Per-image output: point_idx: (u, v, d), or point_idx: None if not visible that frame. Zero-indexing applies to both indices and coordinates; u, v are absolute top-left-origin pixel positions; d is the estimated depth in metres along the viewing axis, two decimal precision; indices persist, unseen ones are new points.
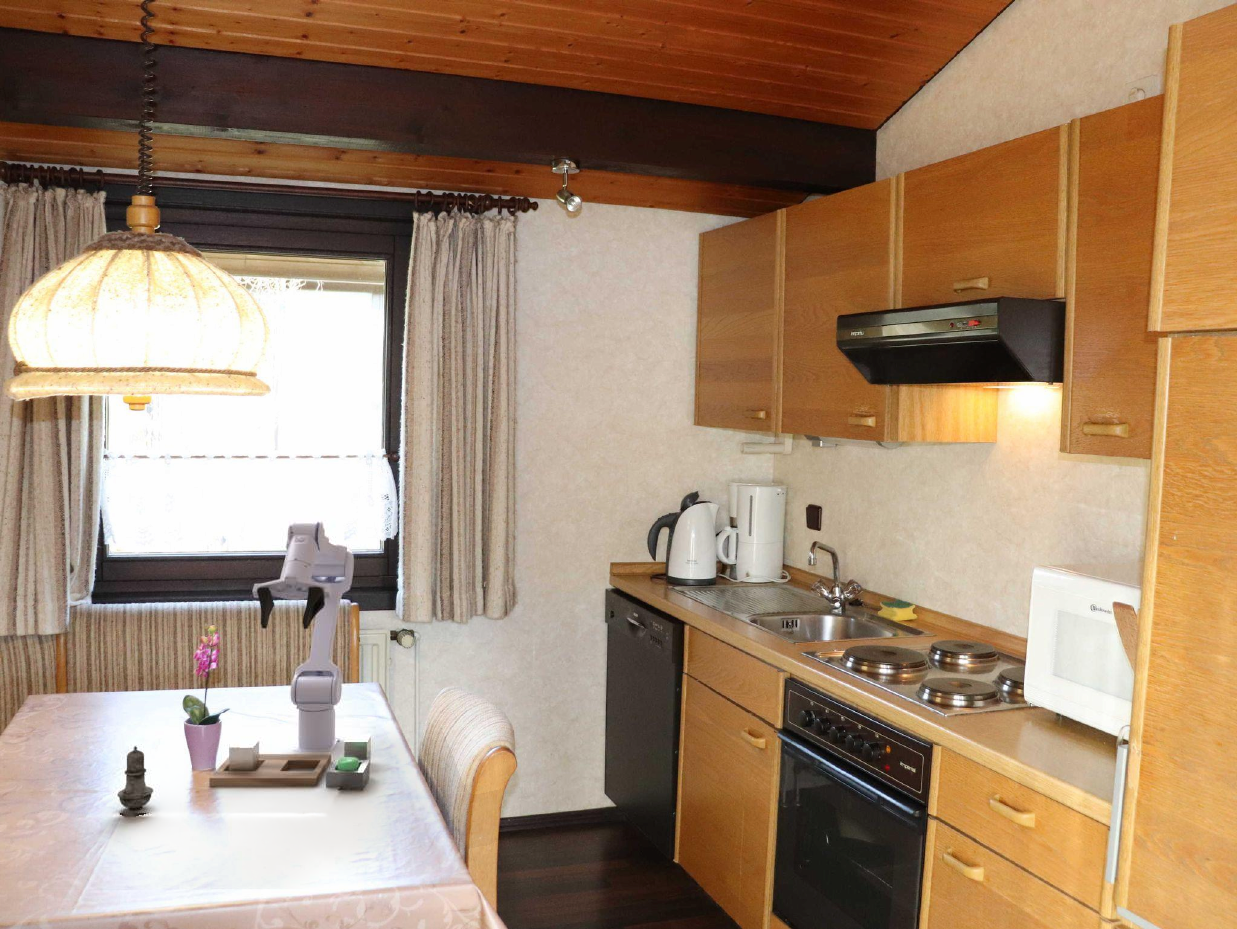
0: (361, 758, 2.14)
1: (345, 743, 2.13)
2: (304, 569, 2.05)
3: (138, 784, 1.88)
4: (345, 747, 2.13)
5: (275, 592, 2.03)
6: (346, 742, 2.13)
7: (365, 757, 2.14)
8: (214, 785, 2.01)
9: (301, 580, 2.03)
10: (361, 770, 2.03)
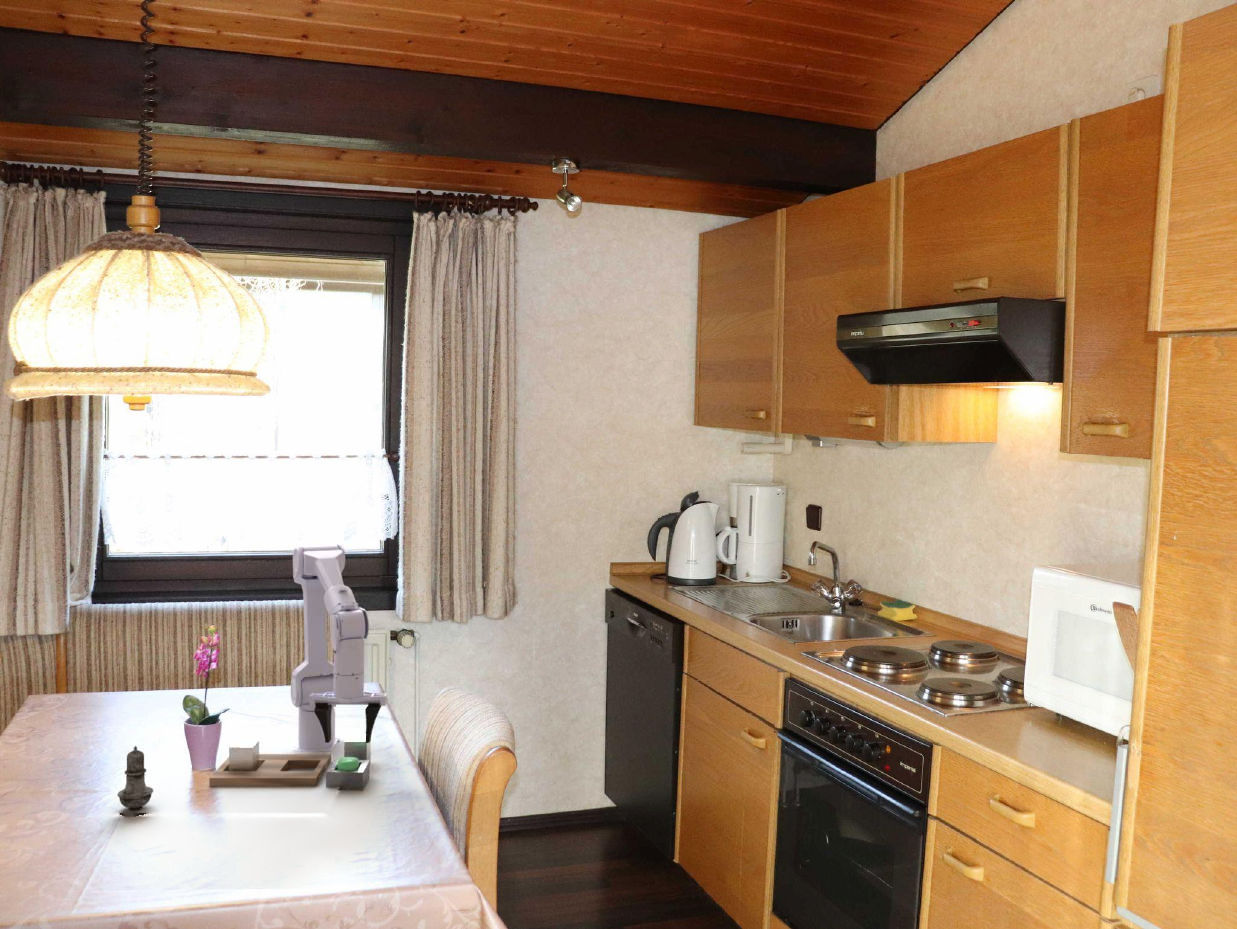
0: (361, 758, 2.14)
1: (345, 743, 2.13)
2: (356, 683, 2.03)
3: (138, 784, 1.88)
4: (345, 747, 2.13)
5: (332, 703, 2.04)
6: (346, 742, 2.13)
7: (365, 757, 2.14)
8: (214, 785, 2.01)
9: (356, 700, 2.03)
10: (361, 770, 2.03)
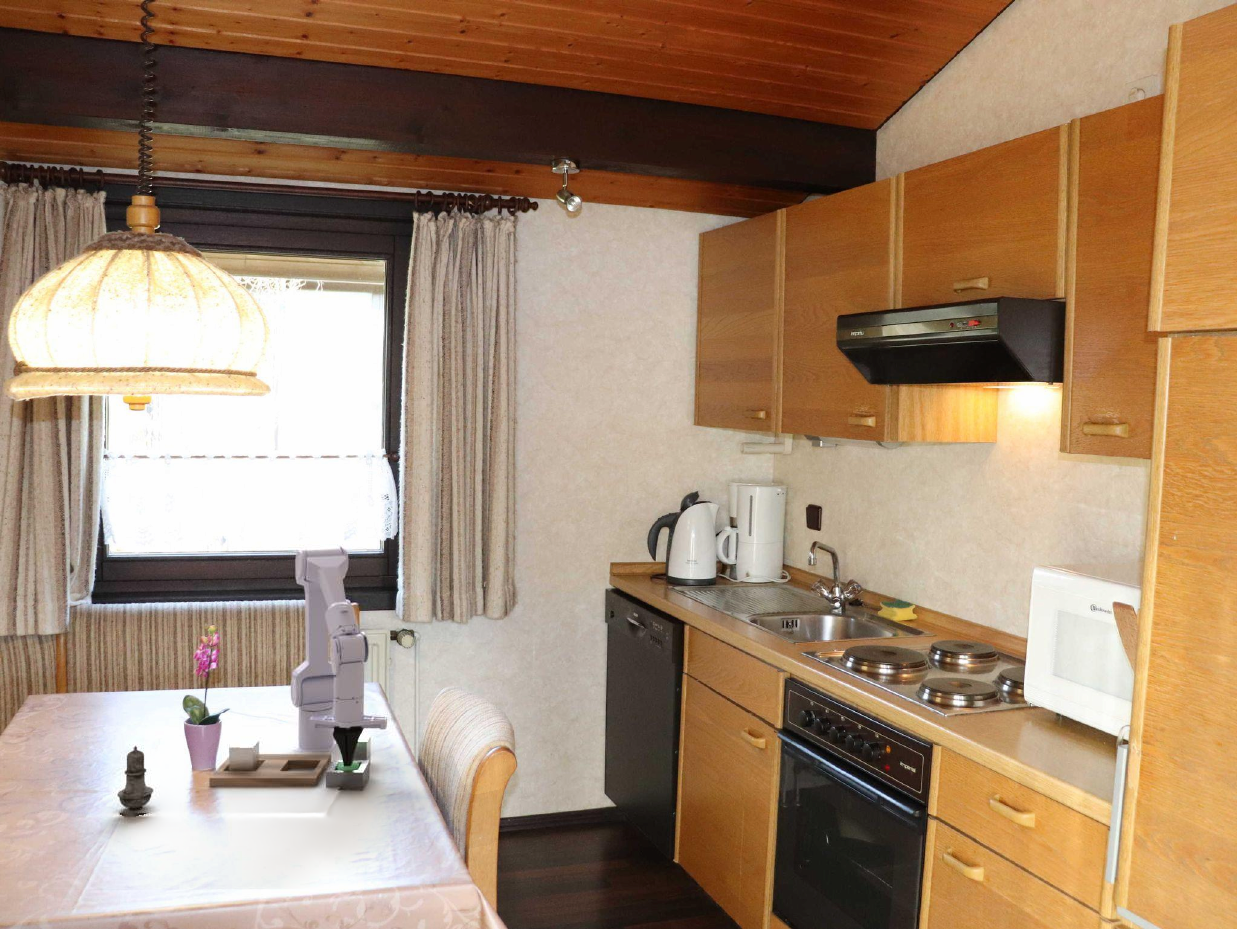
0: (361, 758, 2.14)
1: None
2: (356, 707, 2.03)
3: (138, 784, 1.88)
4: None
5: (332, 726, 2.05)
6: None
7: (365, 757, 2.14)
8: (214, 785, 2.01)
9: (356, 723, 2.03)
10: (361, 770, 2.03)
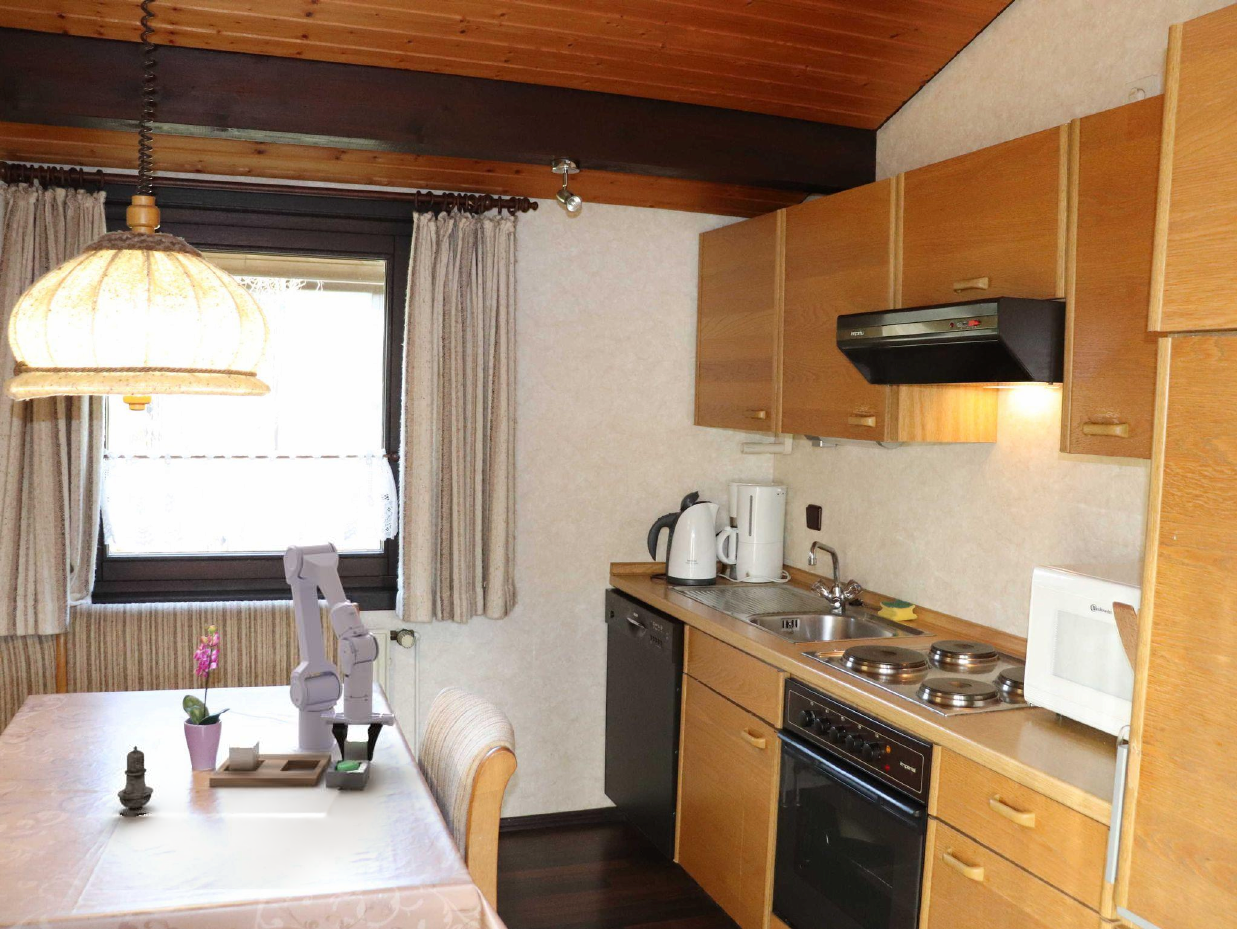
0: (361, 757, 2.14)
1: (345, 743, 2.13)
2: (365, 704, 2.13)
3: (138, 784, 1.88)
4: (345, 747, 2.13)
5: (342, 723, 2.15)
6: (346, 742, 2.13)
7: (365, 757, 2.14)
8: (214, 785, 2.01)
9: (365, 720, 2.13)
10: (361, 770, 2.03)
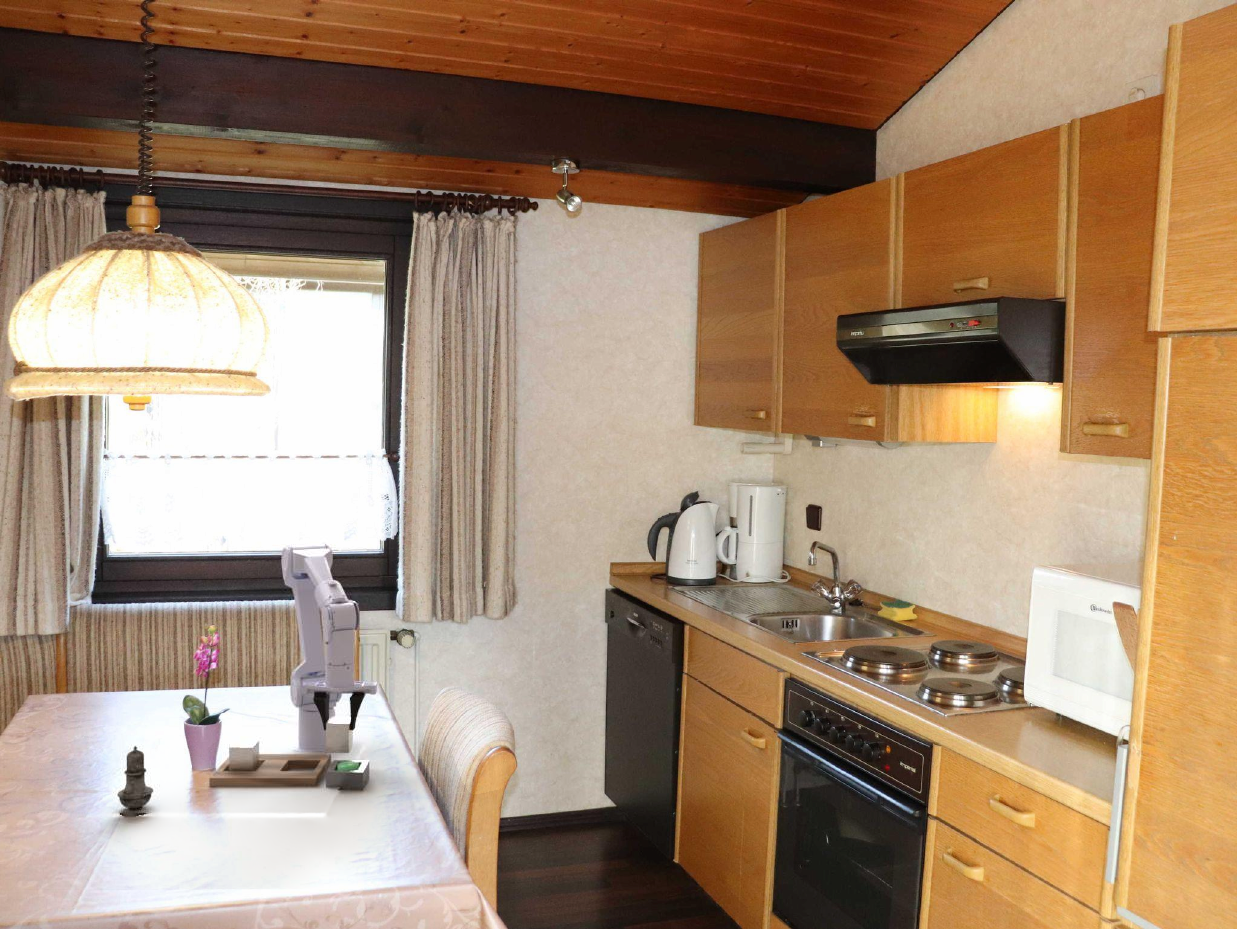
0: (343, 740, 2.11)
1: (327, 725, 2.11)
2: (347, 673, 2.11)
3: (138, 784, 1.88)
4: (327, 729, 2.11)
5: (324, 692, 2.12)
6: (328, 724, 2.11)
7: (347, 739, 2.11)
8: (214, 785, 2.01)
9: (347, 689, 2.10)
10: (361, 770, 2.03)
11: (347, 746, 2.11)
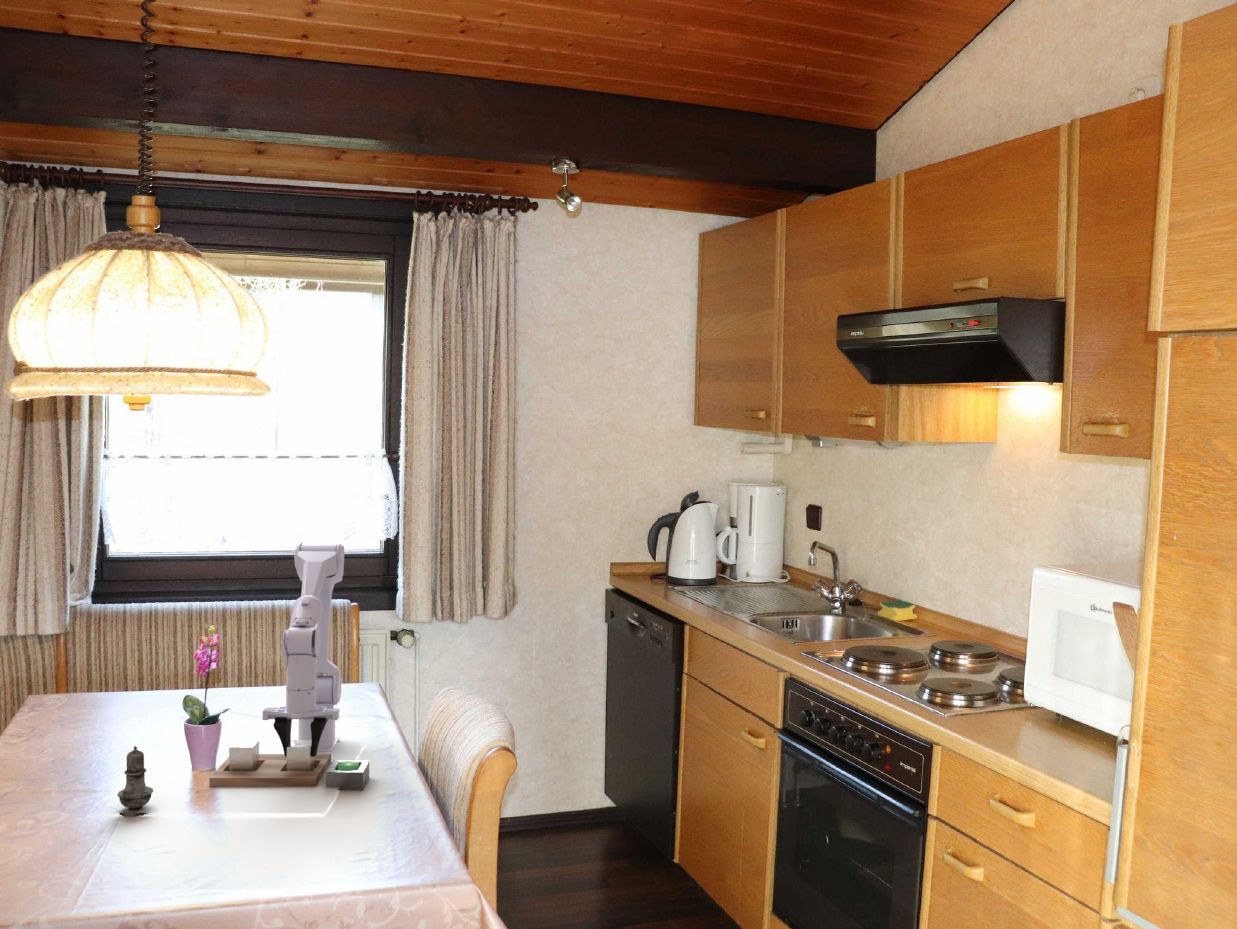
0: (304, 764, 2.07)
1: (287, 749, 2.07)
2: (308, 698, 2.06)
3: (138, 784, 1.88)
4: (287, 753, 2.07)
5: (284, 717, 2.08)
6: (288, 748, 2.07)
7: (308, 763, 2.07)
8: (214, 785, 2.01)
9: (308, 714, 2.06)
10: (361, 770, 2.03)
11: (308, 770, 2.07)
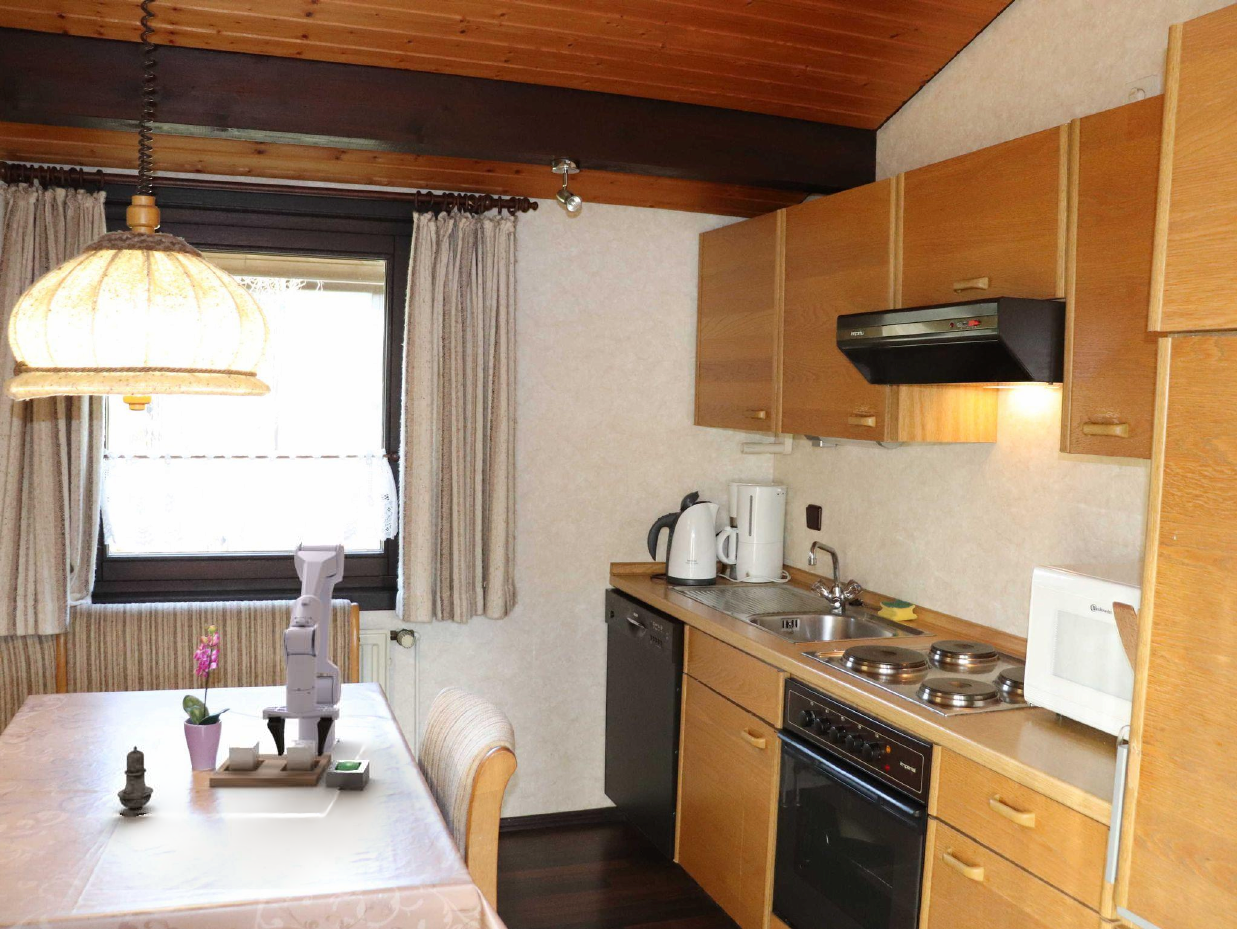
0: (304, 764, 2.07)
1: (287, 749, 2.07)
2: (308, 698, 2.06)
3: (138, 784, 1.88)
4: (287, 753, 2.07)
5: (285, 717, 2.08)
6: (288, 748, 2.07)
7: (308, 763, 2.07)
8: (214, 785, 2.01)
9: (308, 714, 2.06)
10: (361, 770, 2.03)
11: (308, 770, 2.07)
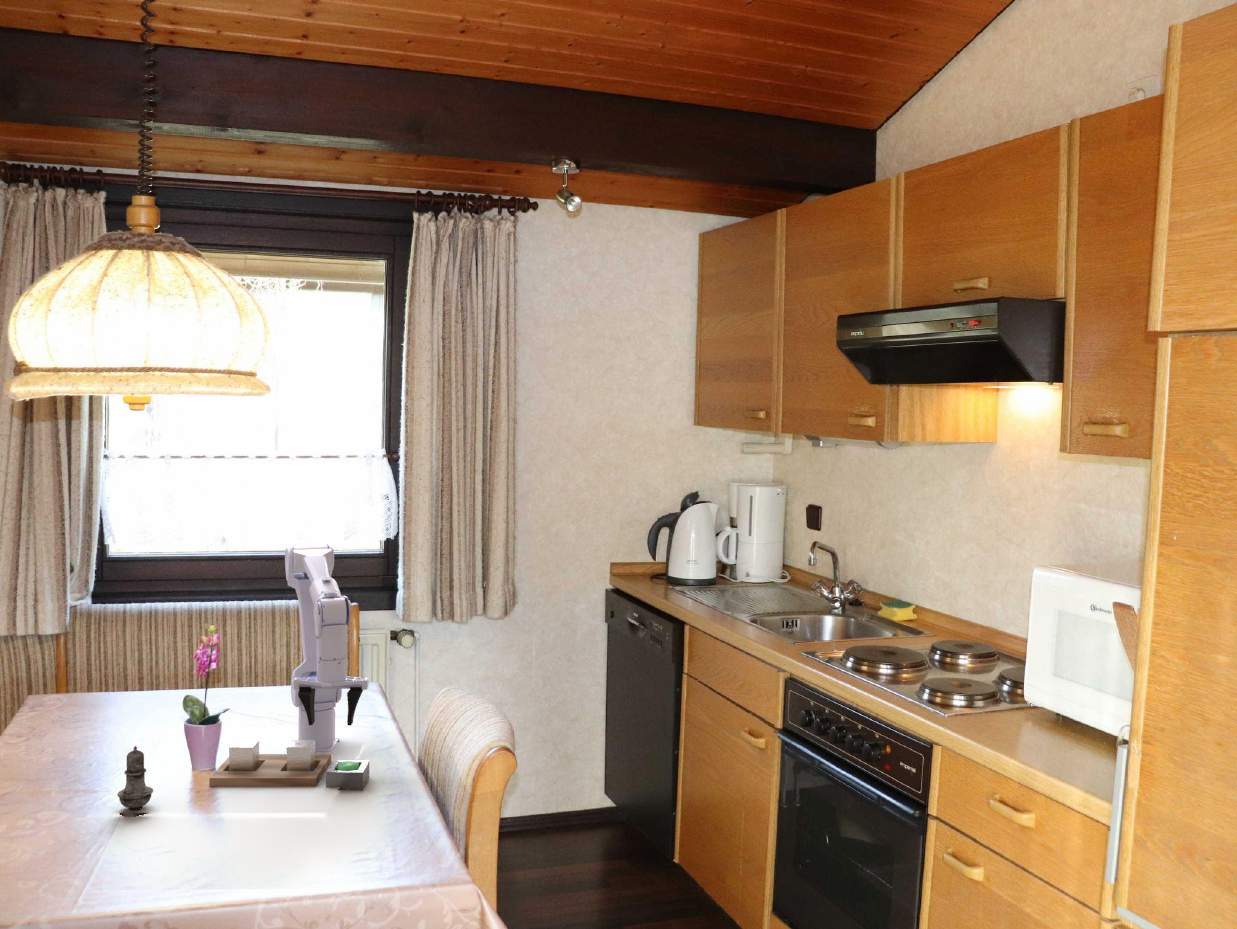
0: (304, 764, 2.07)
1: (287, 749, 2.07)
2: (338, 668, 2.10)
3: (138, 784, 1.88)
4: (287, 753, 2.07)
5: (315, 687, 2.12)
6: (288, 748, 2.07)
7: (308, 763, 2.07)
8: (214, 785, 2.01)
9: (338, 684, 2.10)
10: (361, 770, 2.03)
11: (308, 770, 2.07)
